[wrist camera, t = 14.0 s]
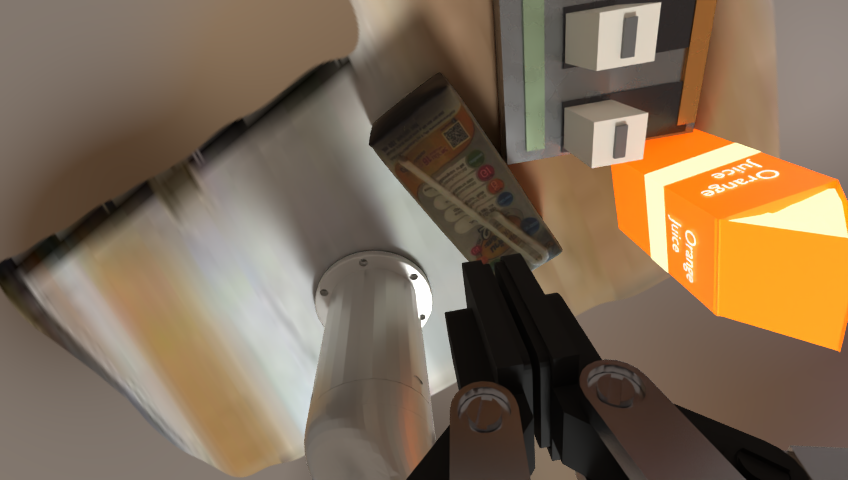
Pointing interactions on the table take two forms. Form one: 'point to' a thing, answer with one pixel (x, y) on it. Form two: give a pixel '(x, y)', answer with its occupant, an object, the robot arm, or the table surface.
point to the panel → (592, 73)
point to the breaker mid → (612, 36)
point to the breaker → (605, 133)
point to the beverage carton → (460, 177)
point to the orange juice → (742, 232)
